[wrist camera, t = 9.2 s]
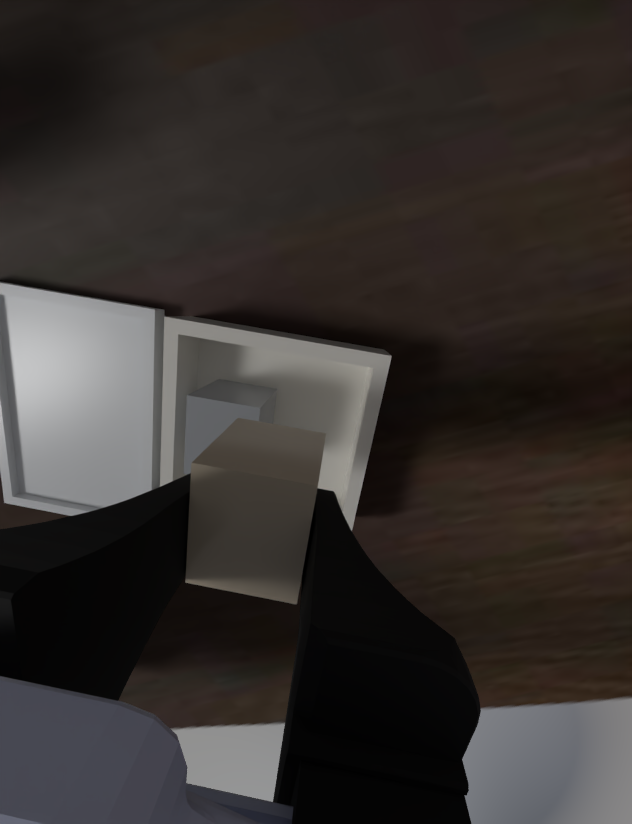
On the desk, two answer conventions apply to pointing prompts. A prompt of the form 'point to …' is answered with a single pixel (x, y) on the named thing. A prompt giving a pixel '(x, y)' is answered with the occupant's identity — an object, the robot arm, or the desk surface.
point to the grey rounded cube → (223, 412)
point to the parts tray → (78, 399)
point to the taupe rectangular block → (253, 509)
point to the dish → (279, 391)
